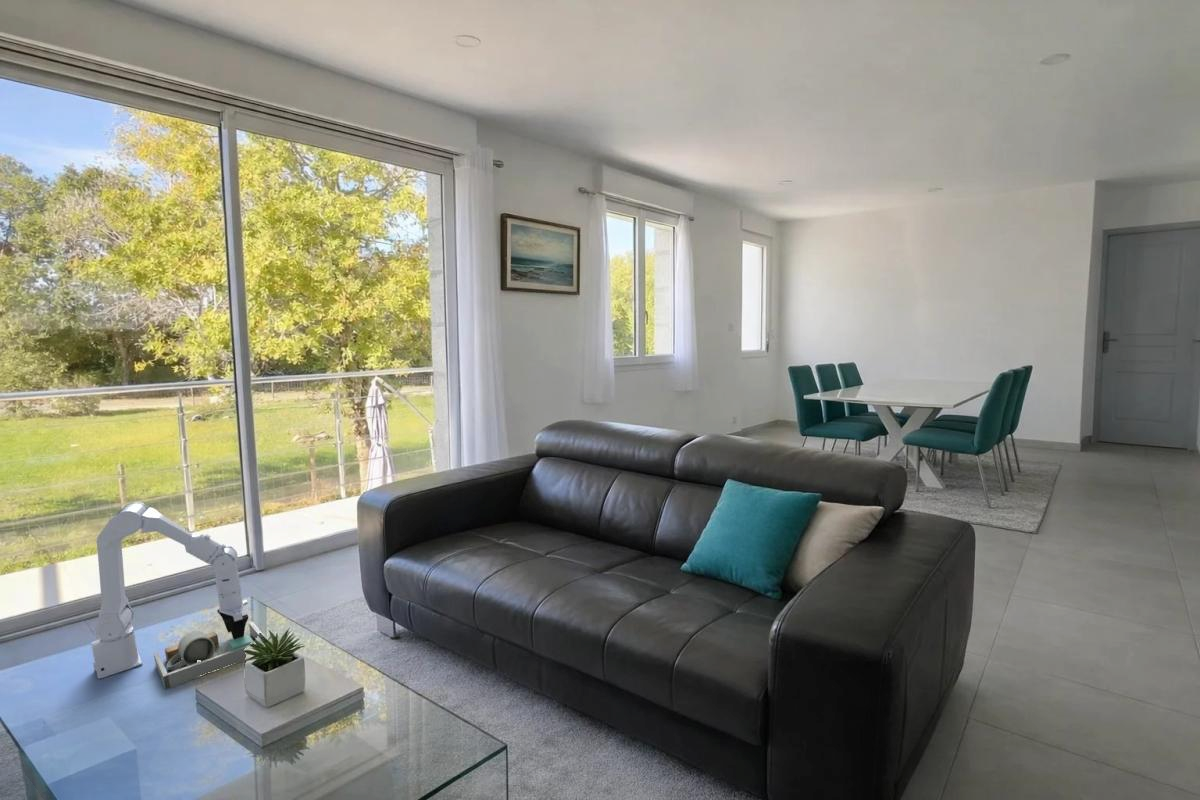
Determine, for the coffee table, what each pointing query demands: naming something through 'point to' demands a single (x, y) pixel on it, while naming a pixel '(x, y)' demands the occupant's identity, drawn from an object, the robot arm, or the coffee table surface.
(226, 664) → the frame
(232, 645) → the turquoise cube box
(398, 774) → the coffee table surface
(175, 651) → the brown wooden block
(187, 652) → the ceramic mug
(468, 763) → the coffee table surface
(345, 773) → the coffee table surface
